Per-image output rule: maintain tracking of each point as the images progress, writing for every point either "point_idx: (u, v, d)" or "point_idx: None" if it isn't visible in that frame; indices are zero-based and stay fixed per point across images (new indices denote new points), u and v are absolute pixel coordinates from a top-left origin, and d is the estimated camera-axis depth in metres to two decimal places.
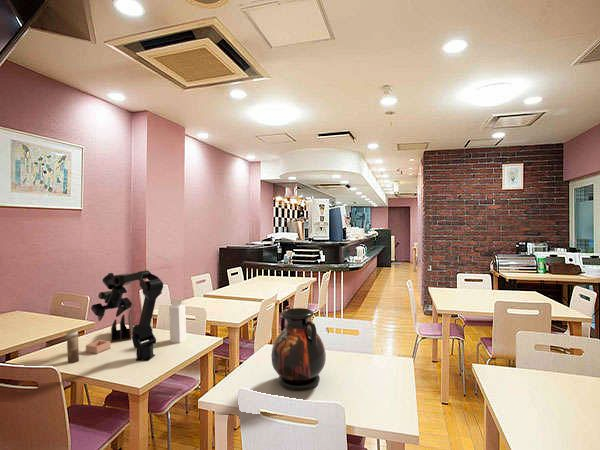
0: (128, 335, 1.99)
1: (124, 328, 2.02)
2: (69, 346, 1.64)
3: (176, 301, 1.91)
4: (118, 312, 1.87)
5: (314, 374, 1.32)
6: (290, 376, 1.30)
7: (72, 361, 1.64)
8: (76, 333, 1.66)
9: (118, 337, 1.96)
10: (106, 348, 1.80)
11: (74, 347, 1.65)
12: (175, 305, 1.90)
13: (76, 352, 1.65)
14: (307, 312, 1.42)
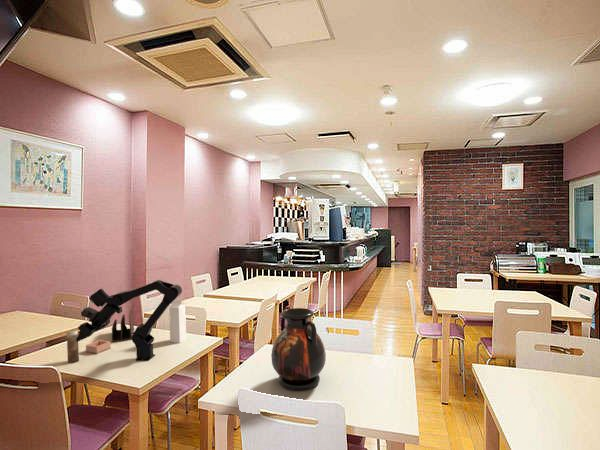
0: (129, 335, 1.99)
1: (124, 328, 2.02)
2: (69, 346, 1.64)
3: (176, 301, 1.91)
4: None
5: (314, 374, 1.32)
6: (290, 376, 1.30)
7: (72, 361, 1.64)
8: (76, 333, 1.66)
9: (119, 337, 1.96)
10: (106, 348, 1.80)
11: (74, 347, 1.65)
12: (175, 305, 1.90)
13: (76, 352, 1.65)
14: (307, 312, 1.42)
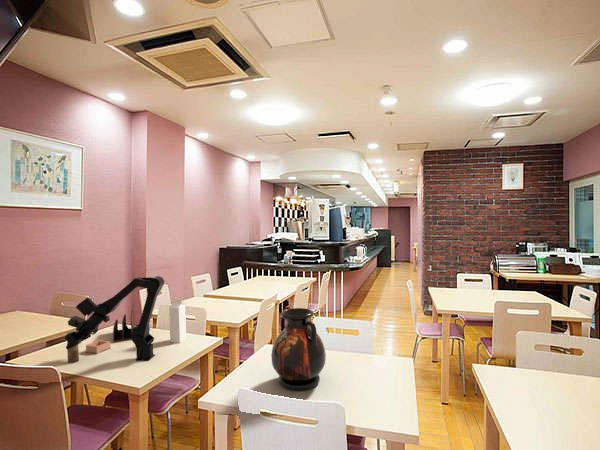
0: (130, 335, 1.99)
1: (126, 328, 2.02)
2: None
3: (176, 301, 1.91)
4: None
5: (314, 374, 1.32)
6: (290, 376, 1.30)
7: (72, 361, 1.64)
8: None
9: (120, 337, 1.96)
10: (106, 348, 1.80)
11: (74, 347, 1.65)
12: (175, 305, 1.90)
13: (76, 352, 1.65)
14: (307, 312, 1.42)
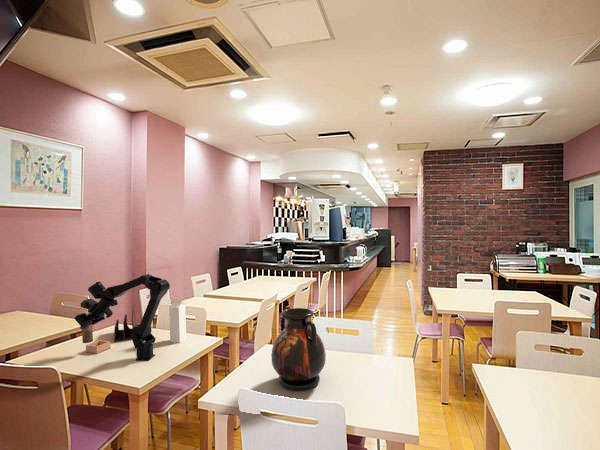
0: (131, 335, 1.99)
1: (127, 328, 2.02)
2: None
3: (176, 301, 1.91)
4: (92, 322, 1.77)
5: (314, 374, 1.32)
6: (290, 376, 1.30)
7: (85, 341, 1.73)
8: None
9: (121, 337, 1.96)
10: (106, 348, 1.80)
11: (87, 327, 1.73)
12: (175, 305, 1.90)
13: (89, 333, 1.73)
14: (307, 312, 1.42)
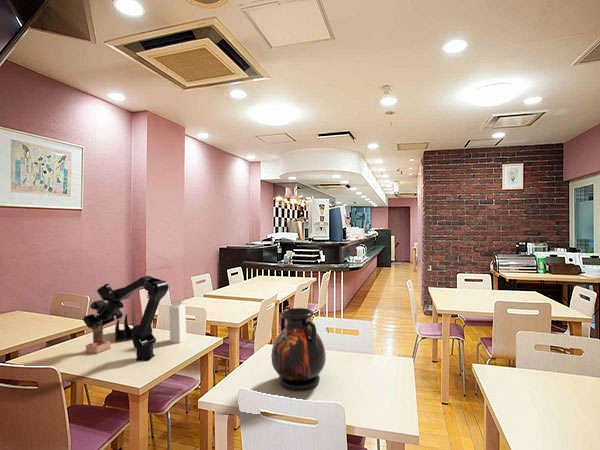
0: None
1: (127, 328, 2.02)
2: None
3: (176, 301, 1.91)
4: (103, 323, 1.81)
5: (314, 374, 1.32)
6: (290, 376, 1.30)
7: (95, 341, 1.78)
8: None
9: (122, 337, 1.96)
10: (106, 348, 1.80)
11: (97, 328, 1.78)
12: (175, 305, 1.90)
13: (99, 333, 1.78)
14: (307, 312, 1.42)
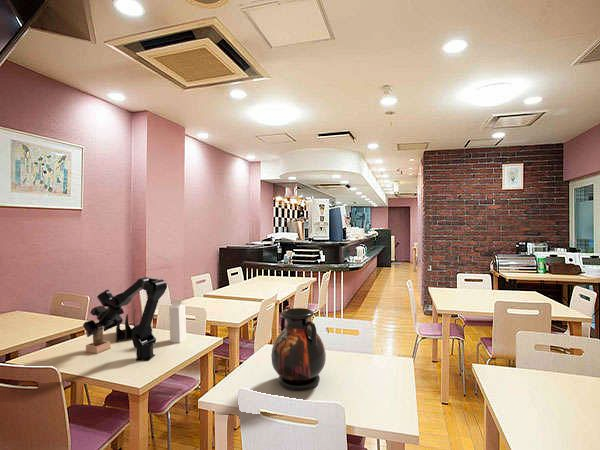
0: None
1: (128, 328, 2.02)
2: (93, 335, 1.78)
3: (176, 301, 1.91)
4: (107, 327, 1.84)
5: (314, 374, 1.32)
6: (290, 376, 1.30)
7: None
8: None
9: (123, 337, 1.96)
10: (106, 348, 1.80)
11: (97, 336, 1.78)
12: (175, 305, 1.90)
13: (99, 341, 1.78)
14: (307, 312, 1.42)
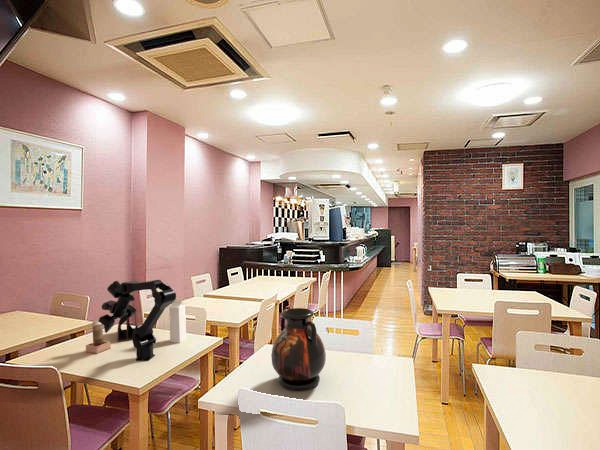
0: None
1: (130, 328, 2.02)
2: (93, 335, 1.78)
3: (176, 301, 1.91)
4: (122, 320, 1.82)
5: (314, 374, 1.32)
6: (290, 376, 1.30)
7: None
8: (99, 323, 1.78)
9: (124, 337, 1.96)
10: (106, 348, 1.80)
11: (97, 336, 1.78)
12: (175, 305, 1.90)
13: (99, 341, 1.78)
14: (307, 312, 1.42)
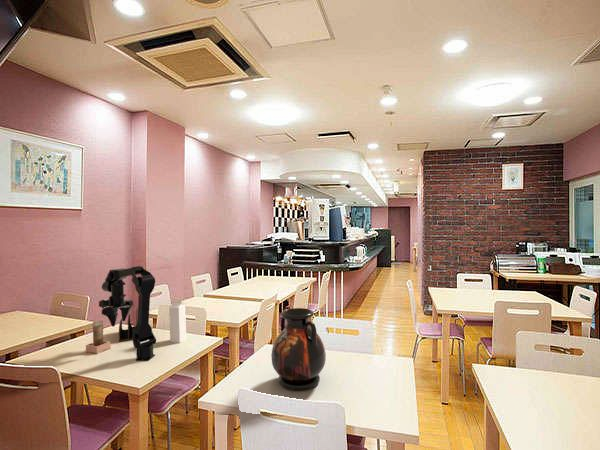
0: None
1: (131, 328, 2.02)
2: (93, 335, 1.78)
3: (176, 301, 1.91)
4: (124, 315, 1.85)
5: (314, 374, 1.32)
6: (290, 376, 1.30)
7: None
8: (100, 323, 1.78)
9: (125, 337, 1.96)
10: (106, 348, 1.80)
11: (97, 336, 1.78)
12: (175, 305, 1.90)
13: (99, 341, 1.78)
14: (307, 312, 1.42)
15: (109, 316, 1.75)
